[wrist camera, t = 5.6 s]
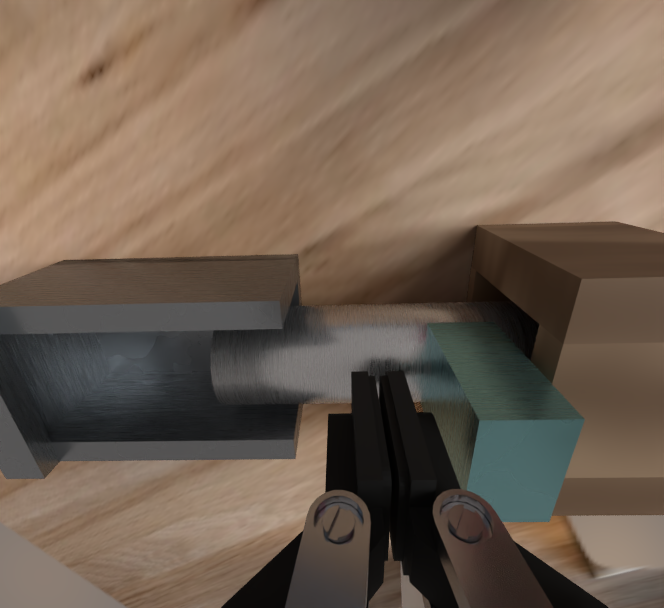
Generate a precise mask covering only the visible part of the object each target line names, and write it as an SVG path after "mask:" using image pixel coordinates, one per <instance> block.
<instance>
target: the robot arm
mask: <svg viewBox="0 0 664 608" xmlns="http://www.w3.org/2000/svg"><path fill="white" fill-rule="evenodd" d="M351 399H352V413H350V414H329V415H328V437H327V464H326V491H325V493H324V494H322V495H321V496H319V497H318V498H317V499H316V500H315V501H314V502H313V503H312V505H311V506H310V509H309V511H308V514H307V517H306V522H305V526H304V530H303V531H302V532H301V533H300V534H299V535H298V536H297V537H296V538H295V539H294V540H292V541H291V542H290V543H289V544H288V545H287V546H286V547H285V548H284V549H283V550H282V551H281V552H280V553H279V554H278V555H276V556H275V557H274V558H273V559H272V560H271V561H270V562H269V563H268V564H267V565H266V566H265V567H264V568H263V569H261V570H260V571H259V572H258V573H257V574H256V575H255V576H254V577H253V578H252V579H251V580H250V581H249V582H248V583H246V584H245V585H244V586H243V587H242V588H241V589H240V590H239V591H238V592H237V593H236V594H235V595H234V596H233V597H232V598H230V599H229V600H228V601H227V602H226V603H225V604H224V605H223V606H222V607H221V608H369V601H370V599H371V598H372V597H373V595H374V594H375V593H376V591H377V590H378V589H379V588H380V586H381V585H382V584H383V578H384V561H388V547H389V531H390V539H391V546H392V553H393V559H394V561H401V564H402V570H403V575H409V581H410V583H411V584H412V585H413V586H414V587H415V588H416V589H417V590H418V591H419V592H420V593H421V594H422V597H423V603H424V607H425V608H608V607H607V606H606V605H605V604H603V603H602V602H600V601H599V600H597V599H596V598H595V597H593V596H592V595H590V594H589V593H587V592H586V591H585V590H583V589H582V588H580V587H579V586H577V585H576V584H574V583H573V582H572V581H570V580H569V579H567V578H566V577H564V576H563V575H562V574H560V573H559V572H557V571H556V570H554V569H553V568H552V567H550V566H549V565H547V564H546V563H544V562H543V561H542V560H540V559H539V558H537V557H536V556H534V555H533V554H532V553H530V552H529V551H527V550H526V549H524V548H523V547H522V546H520V545H519V544H517V543H516V542H514V541H513V539H512V538H511V536H510V534H509V533H508V531H507V529H506V528H505V526H504V524H503V523H502V521H501V519H500V518H499V516H498V514H497V513H496V512H495V510H494V509H493V508H492V506H491V505H490V504H489V503H488V502H487V501H485V500H484V499H483V498H482V497H480V496H478V495H476V494H475V493H473V492H470V491H467V490H463V489H461V488H460V485H459V483H458V480H457V477H456V474H455V472H454V469H453V466H452V464H451V461H450V458H449V455H448V453H447V450H446V447H445V445H444V442H443V439H442V436H441V434H440V431H439V428H438V425H437V423H436V420H435V417H434V415H433V414H432V413H431V412H419V413H416V409H415V406H414V403H413V400H412V396H411V393H410V390H409V386H408V383H407V380H406V377H405V373H404V371H386V374H385V376H380V377H379V397H378V391H377V385H376V379H375V376H369V374H368V371H356V372H351Z"/></svg>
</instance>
